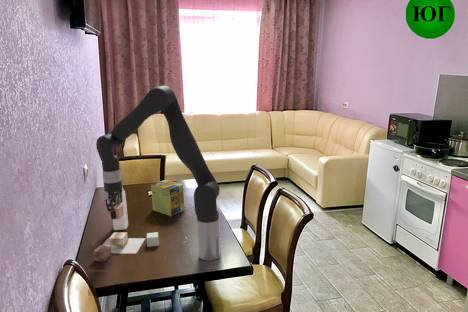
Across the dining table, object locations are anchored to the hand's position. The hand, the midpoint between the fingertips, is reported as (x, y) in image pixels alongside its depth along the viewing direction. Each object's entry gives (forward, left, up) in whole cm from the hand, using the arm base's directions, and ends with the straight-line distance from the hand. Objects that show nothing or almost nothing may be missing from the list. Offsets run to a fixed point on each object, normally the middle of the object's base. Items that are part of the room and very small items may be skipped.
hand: (116, 215), depth 163 cm
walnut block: (+3, +11, -15) cm, 19 cm away
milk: (+6, -19, -15) cm, 25 cm away
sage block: (-15, -2, -15) cm, 21 cm away
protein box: (-13, -42, -15) cm, 47 cm away
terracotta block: (0, 0, 0) cm, 0 cm away
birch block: (0, 0, -14) cm, 14 cm away
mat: (-1, 0, -15) cm, 15 cm away
